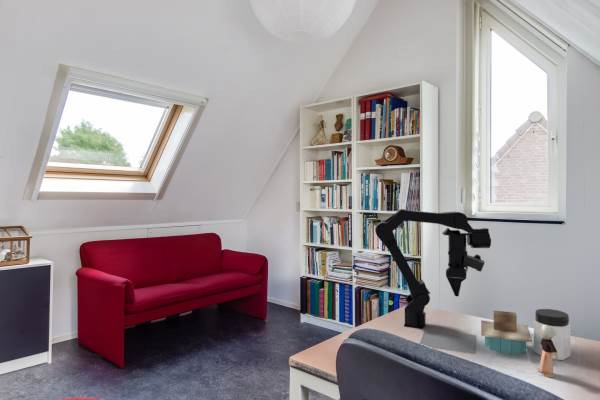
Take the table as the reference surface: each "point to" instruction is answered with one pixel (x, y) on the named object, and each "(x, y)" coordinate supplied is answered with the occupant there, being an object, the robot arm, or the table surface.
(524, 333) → the cover board
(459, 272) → the robot arm
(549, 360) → the grandmother figurine
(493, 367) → the table surface
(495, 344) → the bowl
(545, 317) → the jar
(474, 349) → the mat
